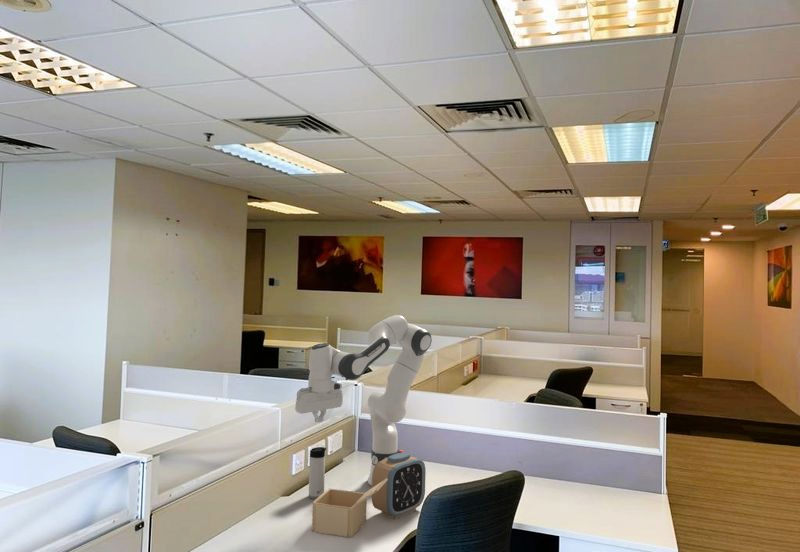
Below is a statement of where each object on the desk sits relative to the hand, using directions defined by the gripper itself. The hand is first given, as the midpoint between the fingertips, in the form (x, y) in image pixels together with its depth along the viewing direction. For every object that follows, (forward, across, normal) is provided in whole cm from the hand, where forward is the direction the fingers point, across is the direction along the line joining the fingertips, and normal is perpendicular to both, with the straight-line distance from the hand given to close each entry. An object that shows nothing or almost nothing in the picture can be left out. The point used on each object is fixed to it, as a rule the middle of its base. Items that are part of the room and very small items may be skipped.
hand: (319, 421), depth 219 cm
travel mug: (+34, +8, +11) cm, 37 cm away
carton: (+34, -2, -17) cm, 38 cm away
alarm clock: (+34, +23, -22) cm, 47 cm away
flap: (+24, +2, -23) cm, 33 cm away
